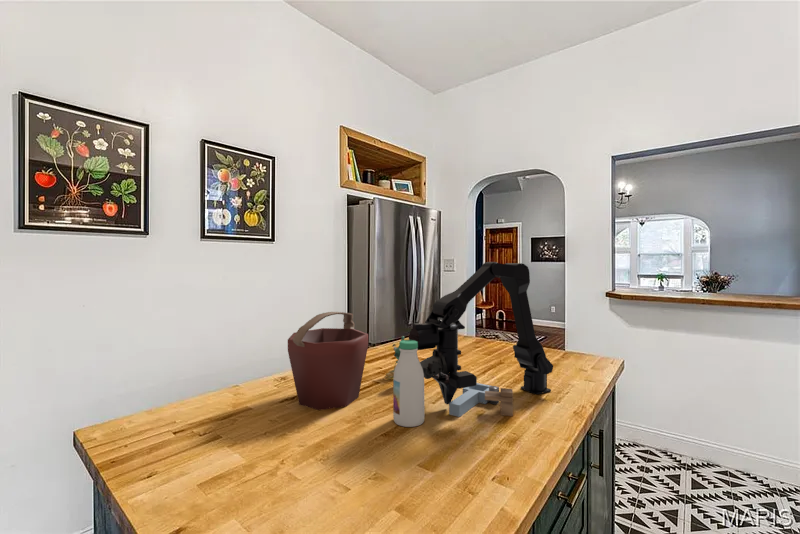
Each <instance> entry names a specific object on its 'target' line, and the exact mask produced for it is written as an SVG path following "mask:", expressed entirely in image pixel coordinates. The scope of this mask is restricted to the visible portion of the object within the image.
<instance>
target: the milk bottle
mask: <svg viewBox="0 0 800 534" xmlns="http://www.w3.org/2000/svg"><path fill="white" fill-rule="evenodd" d="M398 347H400V349H399V350H400V357H399V360H398V359H397V361H398V363H396V365H395V366H394V367H395V371H394V380H392V381H393V383H392V384H393V386H392V388H393V390H392V392H393V398H392V399H393V400H392V402H393V407H392V408H393V412H392V413H393V421H394V423H395V424H396V425H398V426H400V427H405V428H414V427H418V426H421V425H422V424H423V423H424V422H425V377H424V373H423V369H422V366H421V364H420V362H421V361H420V360H419V356H418V351H419V350H418V342H417V341H415V340H409V339H404V340H402V341H401V340H400V341H399V344H398Z"/></svg>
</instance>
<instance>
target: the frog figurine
mask: <svg viewBox="0 0 800 534" xmlns="http://www.w3.org/2000/svg"><path fill="white" fill-rule="evenodd" d="M402 340H405V336H404V335H402V336H401V340H400V341H402ZM396 345H397V344H396V343H394V344H392V347H393V350H394V352H393V356H394V357H395V358H396V360H397V361H395V364H394V367H393V368H391V369H389V370H388V371H387V372H386V374H385V375H386V376H384V377H383V378H382V380H384V381H389V380H391V381H394V371H395V367H396V365H397V363H398V360H399V357H400V350H399V349H400V347H399V346H397V347H396Z"/></svg>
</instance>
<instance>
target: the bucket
mask: <svg viewBox="0 0 800 534" xmlns="http://www.w3.org/2000/svg"><path fill="white" fill-rule="evenodd" d="M334 315H341V316H342V315H343V318H342V319H343V320H342V322H343V328H337V327H336V328H334V327H333V328H332V327H331V328H330V327H329V328H324V327H323V328H321V327H320V328H315V329H312V328H314V326H316V325H317V324H318V323H319V322H320V321H323V320H324V319H325V318H327V317H330V316H334ZM353 319H354V313H350V312H343V311H342V312H341V311H328V312H322V313H319V314H317V315H315V316H313V317H312V318H311V319H309V320H308V321H307V322H305V323H304V324H303V325H301V326H300V327H299V328H298V330H297V331H296V332H293V333H292V335H290V336H289V337H288V339H287V353H288V359H289V362H290V368H291V372H292V377H293V382H294V386H295V387H294V388H295V391H296V396H297V400H298V405H300V406H303V407H306V408H309V409H313V410H316V411H323V410H331V409H339V408H346V407H348V406H349V405H350V404H351V403H353V402H355V400H357V399H358V398H359V396H360V390H361V385H362V380H363V374H364V369H365V364H366V359H367V354H368V348H369V333H366V332H364V331H361V330H358V329H355V322H354V320H353Z"/></svg>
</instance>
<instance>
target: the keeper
mask: <svg viewBox="0 0 800 534" xmlns="http://www.w3.org/2000/svg"><path fill="white" fill-rule="evenodd" d="M485 400H493V401H499V402H500V416H505V417H506V416H509V417H514V391H513V388H507V387H506V388H504V387H503V388H502V387H500V391H499V392H494V391H485Z"/></svg>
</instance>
